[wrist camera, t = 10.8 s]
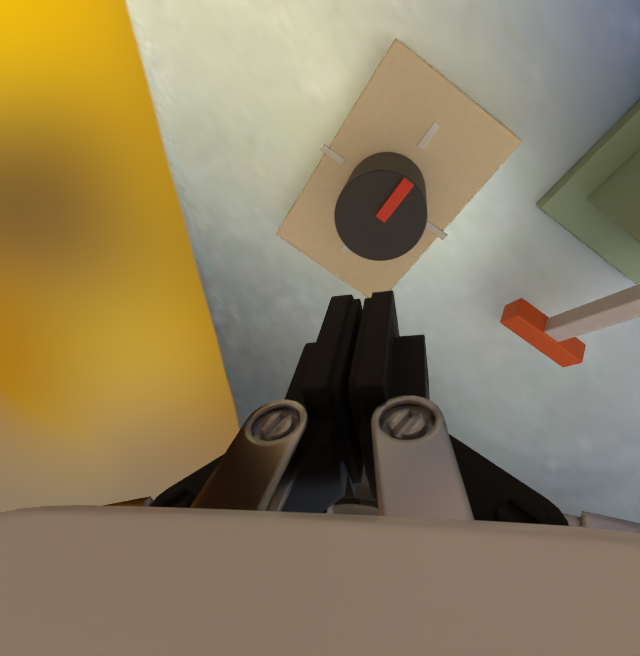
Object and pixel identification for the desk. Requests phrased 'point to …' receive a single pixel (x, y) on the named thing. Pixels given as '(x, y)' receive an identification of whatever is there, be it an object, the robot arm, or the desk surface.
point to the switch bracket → (605, 197)
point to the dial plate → (411, 141)
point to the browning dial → (382, 207)
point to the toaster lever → (569, 323)
